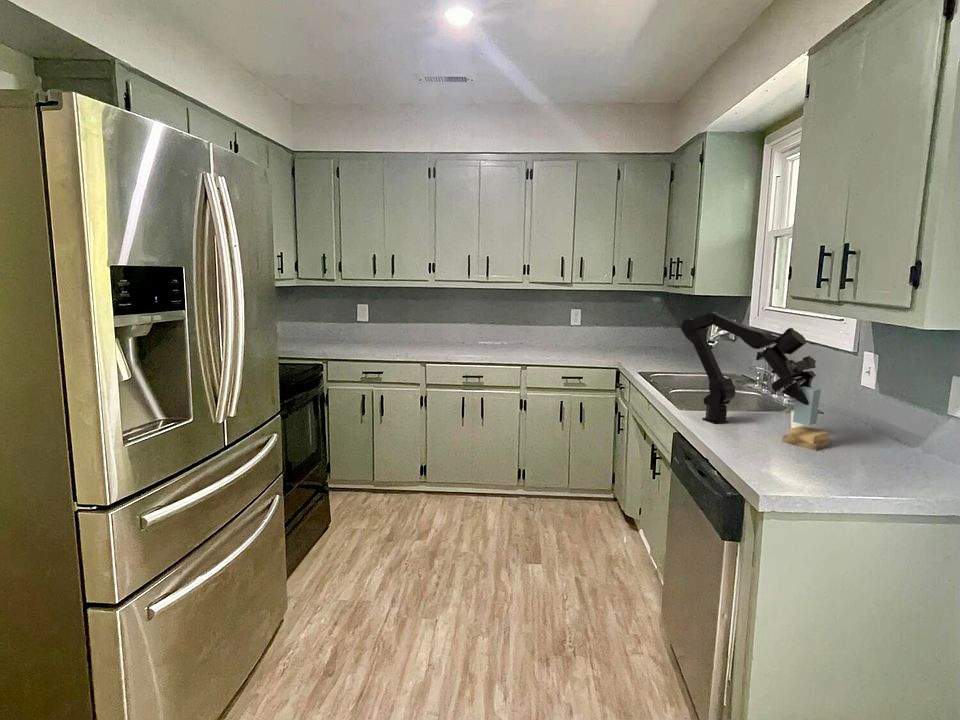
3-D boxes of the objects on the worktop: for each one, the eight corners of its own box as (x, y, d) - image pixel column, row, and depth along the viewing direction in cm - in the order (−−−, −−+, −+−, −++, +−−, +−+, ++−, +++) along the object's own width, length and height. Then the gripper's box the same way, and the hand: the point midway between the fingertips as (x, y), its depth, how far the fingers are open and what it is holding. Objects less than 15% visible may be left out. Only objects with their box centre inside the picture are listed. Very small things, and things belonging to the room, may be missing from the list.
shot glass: (804, 429, 197) (806, 409, 196) (816, 435, 190) (818, 414, 189) (784, 428, 197) (786, 409, 196) (796, 434, 190) (798, 414, 189)
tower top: (788, 436, 182) (788, 429, 181) (802, 433, 186) (802, 425, 185) (813, 443, 175) (814, 435, 174) (827, 439, 179) (828, 432, 179)
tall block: (792, 421, 181) (796, 388, 179) (799, 419, 184) (803, 386, 182) (809, 425, 177) (813, 391, 175) (816, 423, 180) (820, 389, 178)
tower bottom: (782, 444, 182) (782, 436, 182) (796, 438, 188) (797, 431, 188) (815, 452, 174) (816, 444, 174) (829, 446, 180) (830, 439, 180)
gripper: (785, 350, 174) (820, 392, 167) (812, 345, 186) (846, 385, 179) (757, 371, 182) (789, 412, 175) (785, 366, 193) (816, 404, 186)
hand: (811, 403), depth 179 cm, fingers closed on tall block, 5 cm apart
